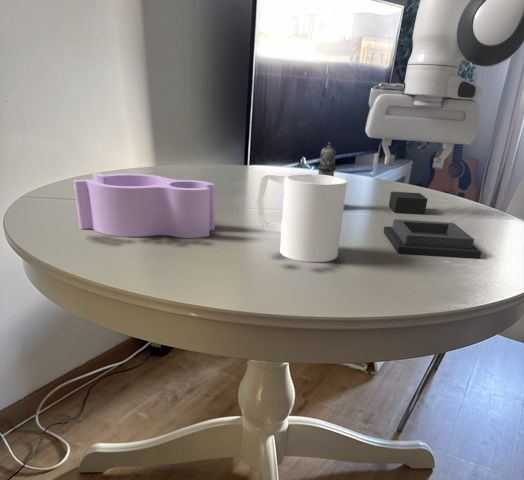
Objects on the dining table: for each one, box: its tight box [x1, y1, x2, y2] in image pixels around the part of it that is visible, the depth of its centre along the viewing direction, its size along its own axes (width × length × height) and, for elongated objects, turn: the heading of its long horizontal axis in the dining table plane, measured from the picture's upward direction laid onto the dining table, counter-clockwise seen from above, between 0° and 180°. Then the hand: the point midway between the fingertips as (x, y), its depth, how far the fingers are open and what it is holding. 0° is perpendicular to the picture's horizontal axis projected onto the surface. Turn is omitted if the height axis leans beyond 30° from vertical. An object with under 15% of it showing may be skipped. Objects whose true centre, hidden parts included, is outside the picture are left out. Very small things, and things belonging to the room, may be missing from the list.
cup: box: [256, 173, 348, 263], centre depth 66 cm, size 8×12×10 cm
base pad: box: [383, 219, 483, 259], centre depth 74 cm, size 12×12×2 cm
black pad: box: [388, 191, 429, 215], centre depth 96 cm, size 6×6×3 cm
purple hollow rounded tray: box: [73, 172, 216, 239], centre depth 74 cm, size 20×12×7 cm, turn 83°
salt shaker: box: [317, 141, 337, 177], centre depth 93 cm, size 6×6×12 cm
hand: (412, 166), depth 93 cm, fingers open, 8 cm apart
